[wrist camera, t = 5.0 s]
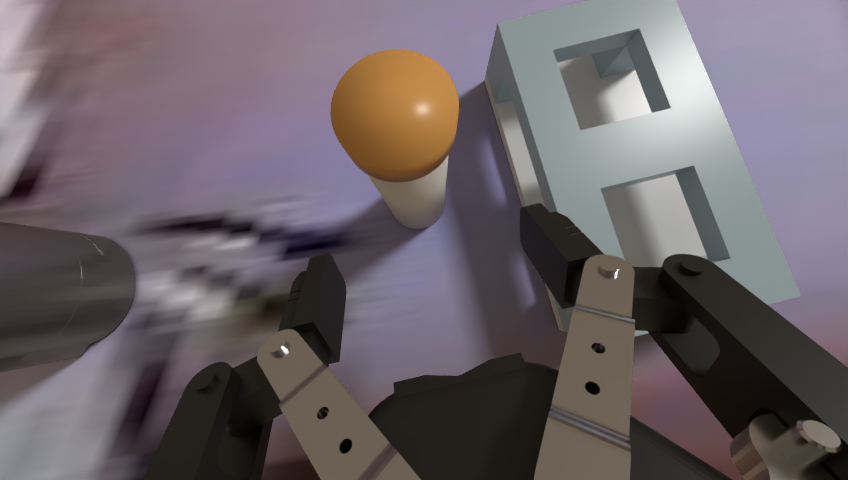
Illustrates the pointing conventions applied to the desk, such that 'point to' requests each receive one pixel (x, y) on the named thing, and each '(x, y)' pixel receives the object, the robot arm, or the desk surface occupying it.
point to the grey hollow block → (629, 140)
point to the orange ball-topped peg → (399, 129)
